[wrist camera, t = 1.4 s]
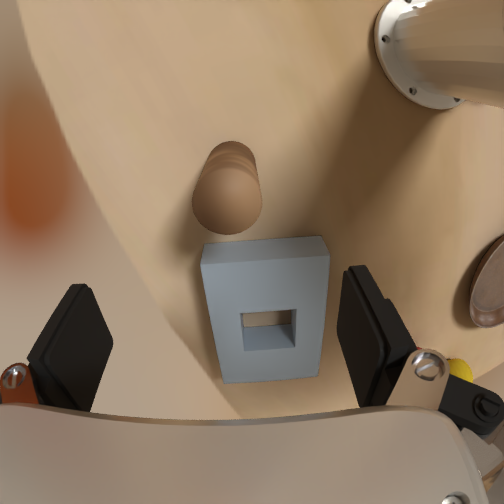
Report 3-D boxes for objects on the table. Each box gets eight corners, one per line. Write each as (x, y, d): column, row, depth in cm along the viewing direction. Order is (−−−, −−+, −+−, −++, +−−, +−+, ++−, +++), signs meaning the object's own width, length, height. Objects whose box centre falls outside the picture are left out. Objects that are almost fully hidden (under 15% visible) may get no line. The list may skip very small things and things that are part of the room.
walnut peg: (253, 139, 27) (260, 166, 19) (256, 185, 30) (263, 232, 21) (205, 143, 27) (187, 173, 19) (210, 188, 30) (197, 237, 21)
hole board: (321, 235, 32) (330, 255, 29) (312, 353, 41) (317, 376, 38) (204, 243, 32) (200, 264, 29) (224, 360, 41) (223, 383, 38)
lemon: (455, 366, 47) (472, 398, 40) (431, 373, 47) (447, 408, 40) (464, 346, 44) (484, 379, 37) (439, 353, 44) (458, 389, 37)
